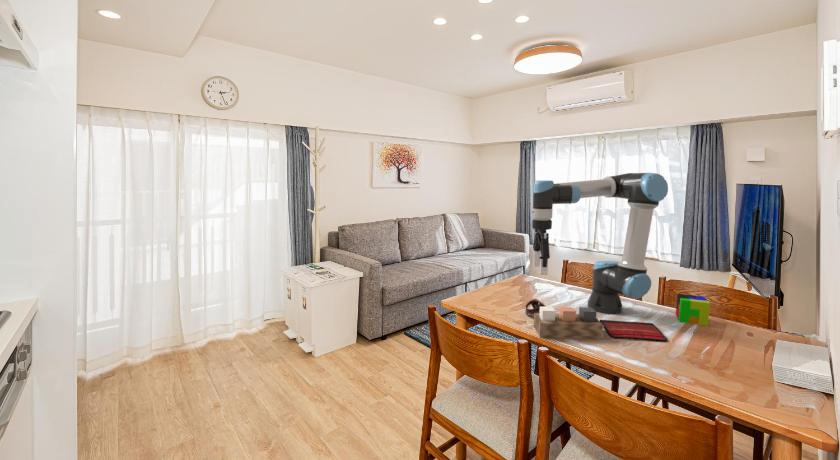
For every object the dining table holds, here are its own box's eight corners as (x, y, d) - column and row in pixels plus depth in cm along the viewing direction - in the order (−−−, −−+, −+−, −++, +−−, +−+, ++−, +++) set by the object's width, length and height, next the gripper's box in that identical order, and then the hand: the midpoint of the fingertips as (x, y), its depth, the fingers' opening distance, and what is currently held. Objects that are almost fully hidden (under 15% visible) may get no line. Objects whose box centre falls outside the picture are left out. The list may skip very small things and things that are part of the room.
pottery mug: (551, 320, 171) (545, 306, 168) (531, 327, 173) (524, 314, 170) (545, 304, 182) (538, 291, 179) (526, 312, 184) (519, 299, 181)
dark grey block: (591, 321, 157) (591, 307, 156) (595, 326, 152) (596, 311, 151) (578, 321, 157) (579, 307, 157) (582, 325, 153) (583, 311, 152)
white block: (551, 320, 158) (552, 306, 157) (554, 325, 153) (555, 311, 152) (539, 320, 159) (539, 306, 158) (542, 325, 154) (542, 310, 153)
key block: (591, 327, 161) (592, 314, 160) (602, 339, 150) (602, 324, 149) (533, 326, 162) (534, 313, 161) (539, 337, 151) (540, 323, 151)
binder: (599, 318, 165) (652, 322, 162) (599, 324, 166) (652, 327, 162) (611, 335, 150) (669, 339, 146) (610, 341, 150) (669, 345, 147)
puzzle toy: (702, 318, 171) (704, 296, 170) (707, 326, 162) (710, 303, 161) (675, 314, 175) (677, 293, 174) (679, 322, 166) (681, 300, 165)
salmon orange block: (571, 321, 158) (571, 307, 157) (575, 325, 153) (576, 311, 152) (558, 320, 158) (559, 306, 157) (562, 325, 153) (563, 311, 152)
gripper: (527, 215, 166) (525, 263, 169) (538, 222, 141) (536, 278, 144) (544, 215, 165) (542, 263, 168) (559, 223, 141) (557, 278, 144)
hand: (540, 270), depth 156 cm, fingers open, 13 cm apart
